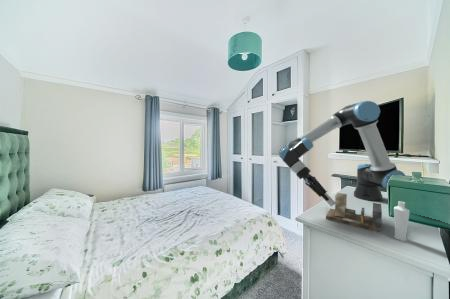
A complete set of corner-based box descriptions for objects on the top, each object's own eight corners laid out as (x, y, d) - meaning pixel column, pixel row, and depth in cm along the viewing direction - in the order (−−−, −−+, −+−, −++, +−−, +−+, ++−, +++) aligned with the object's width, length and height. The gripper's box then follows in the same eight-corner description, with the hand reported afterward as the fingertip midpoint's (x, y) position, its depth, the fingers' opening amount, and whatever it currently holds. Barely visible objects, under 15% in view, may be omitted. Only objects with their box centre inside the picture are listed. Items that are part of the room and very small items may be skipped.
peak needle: (360, 222, 79) (360, 213, 78) (361, 216, 85) (361, 207, 85) (363, 223, 78) (363, 214, 78) (364, 216, 85) (364, 208, 84)
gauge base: (325, 218, 88) (326, 201, 87) (330, 211, 97) (330, 195, 96) (381, 232, 74) (381, 212, 73) (380, 222, 83) (381, 204, 82)
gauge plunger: (334, 215, 87) (335, 196, 87) (337, 210, 92) (337, 192, 92) (354, 220, 82) (355, 199, 81) (355, 214, 87) (356, 195, 87)
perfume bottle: (399, 234, 72) (400, 199, 71) (410, 240, 68) (412, 203, 67) (388, 235, 72) (390, 200, 71) (399, 241, 68) (401, 204, 67)
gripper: (299, 172, 107) (329, 204, 97) (292, 176, 97) (324, 212, 87) (308, 164, 103) (341, 197, 93) (301, 167, 93) (337, 204, 83)
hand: (333, 204), depth 90 cm, fingers closed
